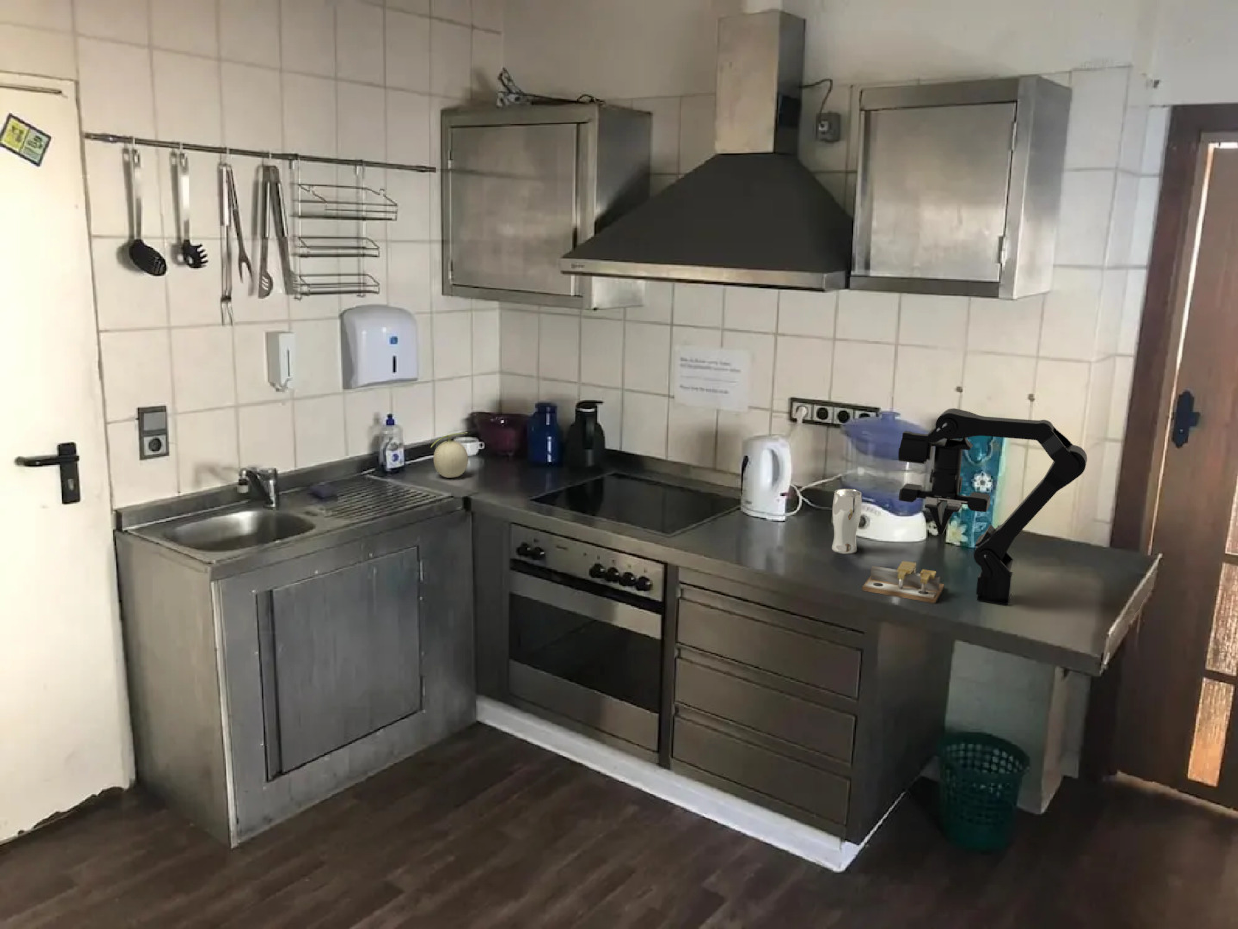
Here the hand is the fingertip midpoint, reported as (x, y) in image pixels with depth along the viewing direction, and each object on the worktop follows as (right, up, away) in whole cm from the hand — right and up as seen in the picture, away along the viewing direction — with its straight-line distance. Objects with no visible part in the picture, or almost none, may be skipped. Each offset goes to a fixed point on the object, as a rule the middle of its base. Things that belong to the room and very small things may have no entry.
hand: (940, 534), depth 229 cm
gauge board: (-8, -13, +3) cm, 15 cm away
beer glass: (-15, -6, +29) cm, 33 cm away
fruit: (-124, +11, +91) cm, 155 cm away
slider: (-7, -11, +3) cm, 14 cm away
